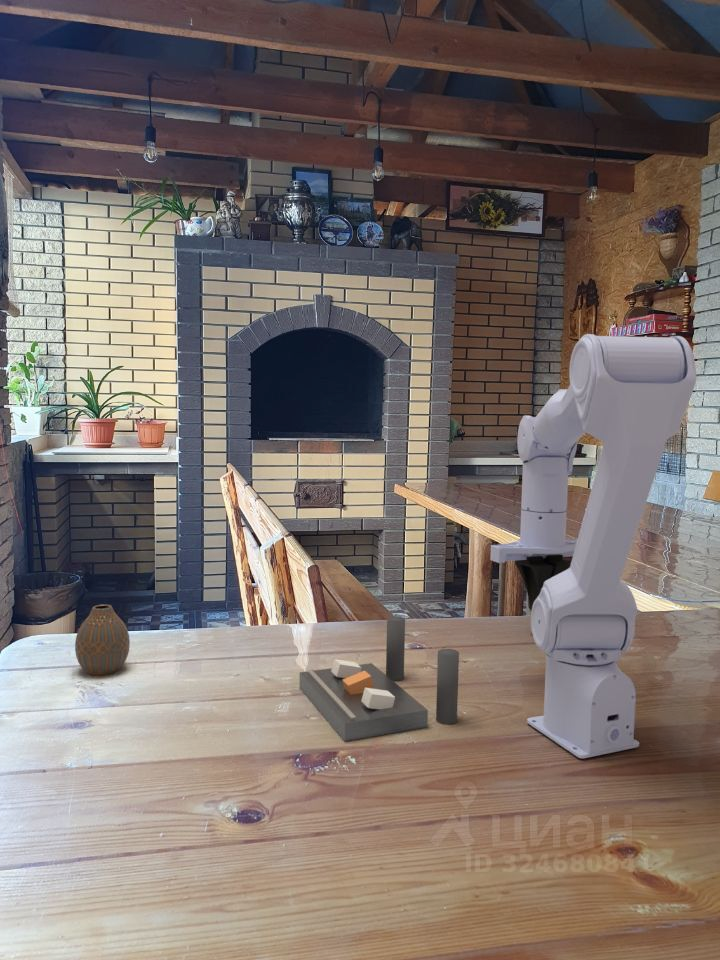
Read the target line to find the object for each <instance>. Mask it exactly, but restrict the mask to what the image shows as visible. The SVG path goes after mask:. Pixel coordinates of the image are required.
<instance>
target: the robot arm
mask: <svg viewBox="0 0 720 960" xmlns="http://www.w3.org/2000/svg"><path fill="white" fill-rule="evenodd" d="M693 352H694V351H693V349H692V347H691V345H690V344H689V342H688V341H687V339H686V338H684V337H683V336H681V335H672V336H669V337H666V336H665V337H660V336H659V337H658V336H657V337H656V336H648V337H647V336H619V335H618V336H615V335H614V336H613V335H611V336H609V335H595V334H594V333H593V334H592V333H585V334H584V335H583V336H582V337H580V338H579V340H578V341H577V342H576V344H575V345H574V347H573V350H572V352H571V355H570V361H569V371H568V374H569V386H568V387H567V389H558V390H557V391H556V392H555V393H554V394H553V395H552V396H550V398H549V399H548V401H546V403H545V404H544V405H543V407H542V408H541V409H540V411H539V412H538V414H537V415H536V416H531V415H527V414H526V415H523V416H522V418H521V420H520V422H519V425H518V430H517V439H516V440H517V452H518V456H519V459H520V460H521V461H522V473H521V475H522V477H521V478H522V481H521V507H520V531H519V533H520V534H519V536H520V537H519V540H518V541H511V542H507V543H503V544H491V545H490V559H489V560H490V561H492V562H496V563H497V564H504V563H506V562H512V561H513V562H514V564H515V566H516V568H517V570H518V572H519V574H520V575H521V578H522V580H523V584H524V587H525V589H526V590H525V591H526V593H527V599H528V598H529V603H530V608H531V612H532V613H531V626H532V633H533V635H532V638H533V641H534V643H535V645H536V646H537V648H539V650H541V652H543V653H545V675H544V697H543V698H544V700H543V701H544V703H543V715H539V716H532V717H528V718H527V719H526V723H527V725H530V726H531V727H532V728H534V729H536V730H537V731H538V732H540V733H541V734H543V735H544V736H546V737H548V738H549V739H550V740H552V741H553V742H554V743H556V744H557V745H558V746H560V747H562V748H563V749H565V750H567V751H569V752H570V753H571V754H572V755H574V756H575V757H577V758H579V759H587V758H592V757H597V756H601V755H607V754H611V753H616V752H621V751H626V750H630V749H635V748H639V747H640V742H639V741H638V740H636V739H634V735H635V717H636V701H637V698H636V697H637V696H636V695H637V694H636V692H637V691H636V688H635V684H634V682H633V680H632V679H631V678H630V676H628V675H627V674H626V673H624V672H623V671H622V670H621V669H620V668H619V666H618V665H617V662H621V659H622V653H625V652H627V651H628V649H629V648H630V646H631V645H632V644H633V641H634V638H635V632H636V631H635V630H636V624H635V622H636V617H637V612H638V607H637V603H636V599H635V596H634V595H633V592H632V590H631V589H630V586H628V584H627V583H626V582H625V581H624V580H623V579H622V576H623V572H624V570H625V566H626V564H627V561H628V559H629V555H630V552H631V549H632V546H633V542H634V540H635V536H636V534H637V530H638V528H639V525H640V522H641V520H642V517H643V513H644V511H645V510H644V509H645V507H646V504H647V500H648V497H649V495H650V492H651V489H652V485H653V484H654V479H655V477H656V473H657V471H658V470H659V469H658V468H659V466H660V463H661V460H662V457H663V452H664V450H665V446H666V442H667V440H668V439H670V438H672V437H673V436H675V435H676V434H677V433H679V430H680V428H681V426H682V424H683V423H682V422H683V419H684V417H685V415H686V412H687V410H688V409H687V408H688V406H689V403H690V400H691V397H692V395H693V391H694V389H695V386H696V382H697V370H696V365H695V356H694V353H693ZM585 434H588V435H590V436H591V437H593V438H595V439H597V440H598V441H600V442H601V443H602V450H601V454H600V457H599V460H598V465H597V469H596V472H595V475H594V479H593V482H592V483H593V484H592V487H591V490H590V494H589V497H588V500H587V504H586V507H585V512H584V515H583V519H582V523H581V526H580V529H579V533H578V536H577V539H566V535H567V516H568V515H567V513H568V512H567V511H568V489H569V488H568V487H569V476H572V472H573V467H574V466H573V465H574V458H575V456H576V452H577V448H578V447H577V446H578V441H579V440H580V439H581V438H582V437H583V436H584V435H585ZM569 556H573V558H572V562H571V565H570V568H569V562H568V561H566V560H563V557H569ZM532 633H531V634H532Z"/></svg>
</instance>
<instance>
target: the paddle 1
mask: <svg viewBox="0 0 720 960" xmlns="http://www.w3.org/2000/svg"><path fill="white" fill-rule="evenodd" d="M359 665H360V664H359V663H357V662H355V661H349V660H342V659H337V658H335V659H333V662H332V666H331V668H332V670H331V672H332V673H333V674H334V675H335V676H336V677H341V678H348V677H350V676H352V675H355V674H357V673H360V671H361V667H360V666H359Z"/></svg>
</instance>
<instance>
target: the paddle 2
mask: <svg viewBox="0 0 720 960" xmlns="http://www.w3.org/2000/svg"><path fill="white" fill-rule="evenodd" d="M394 700H395V697H394V696H393V695H392V694H391V693H390V692H389V691H386V690H379V689H372V688H365V689H364V693H363V696H362V700H361V701H362V702H363V703H364V704H365V705H366V706H367V707H368V708H372V709H386V708H393V704H394Z"/></svg>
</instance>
